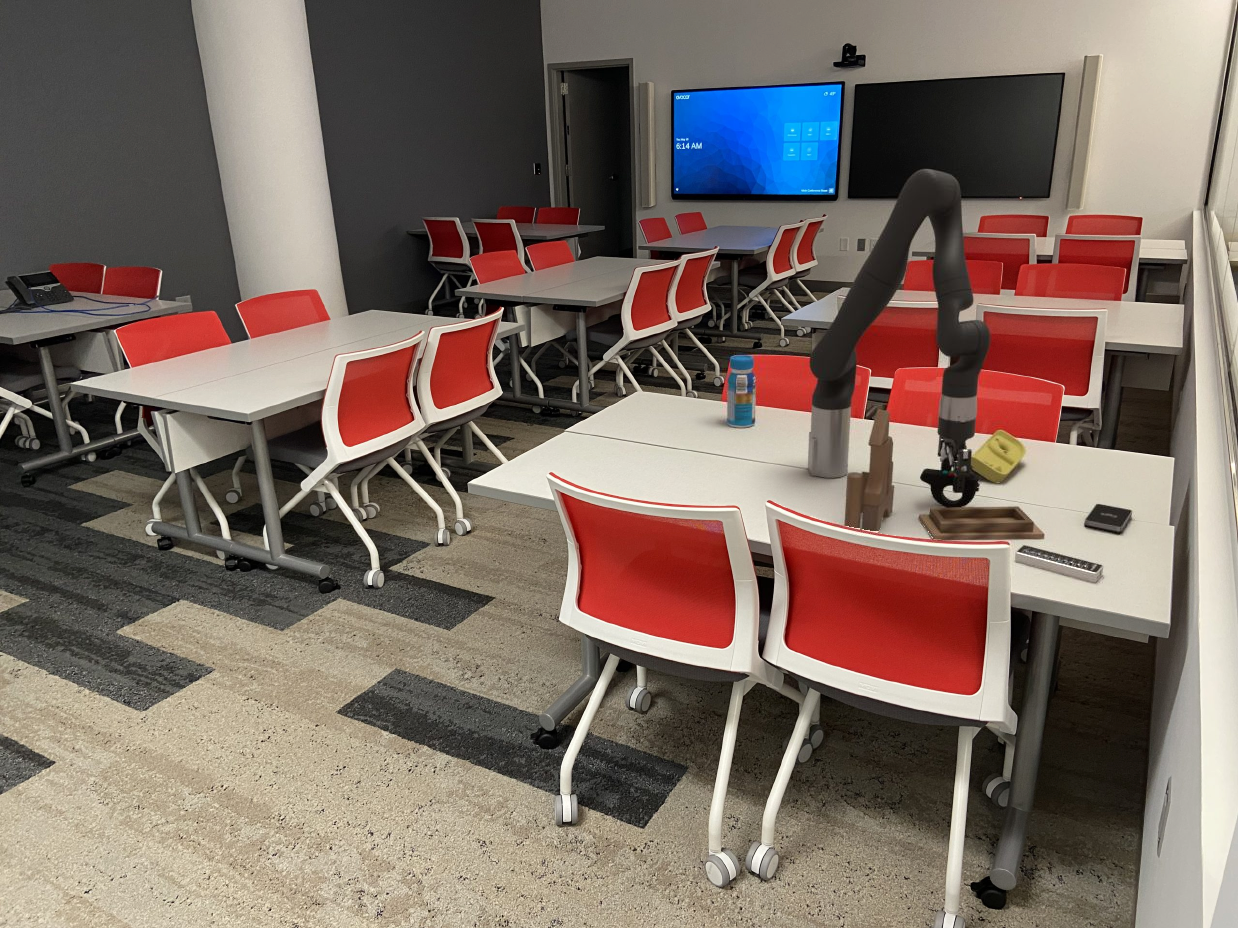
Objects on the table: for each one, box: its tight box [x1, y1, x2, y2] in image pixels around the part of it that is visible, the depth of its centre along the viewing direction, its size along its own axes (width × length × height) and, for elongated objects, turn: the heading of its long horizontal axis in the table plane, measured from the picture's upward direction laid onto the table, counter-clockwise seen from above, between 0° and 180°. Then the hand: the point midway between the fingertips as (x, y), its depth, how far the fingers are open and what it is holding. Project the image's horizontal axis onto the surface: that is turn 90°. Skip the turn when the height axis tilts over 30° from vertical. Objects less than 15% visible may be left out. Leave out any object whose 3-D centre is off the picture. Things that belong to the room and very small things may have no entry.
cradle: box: [918, 506, 1045, 541], centre depth 183 cm, size 22×11×3 cm, turn 87°
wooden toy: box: [844, 409, 895, 532], centre depth 185 cm, size 16×7×25 cm, turn 150°
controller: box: [919, 466, 981, 508], centre depth 194 cm, size 4×12×10 cm, turn 62°
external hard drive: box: [1083, 503, 1133, 535], centre depth 184 cm, size 7×11×2 cm, turn 141°
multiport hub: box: [1014, 544, 1104, 584], centre depth 166 cm, size 4×14×2 cm, turn 47°
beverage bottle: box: [726, 354, 757, 429], centre depth 254 cm, size 8×8×20 cm
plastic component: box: [961, 429, 1027, 483], centre depth 216 cm, size 20×7×10 cm
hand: (951, 485), depth 194 cm, fingers open, 8 cm apart
